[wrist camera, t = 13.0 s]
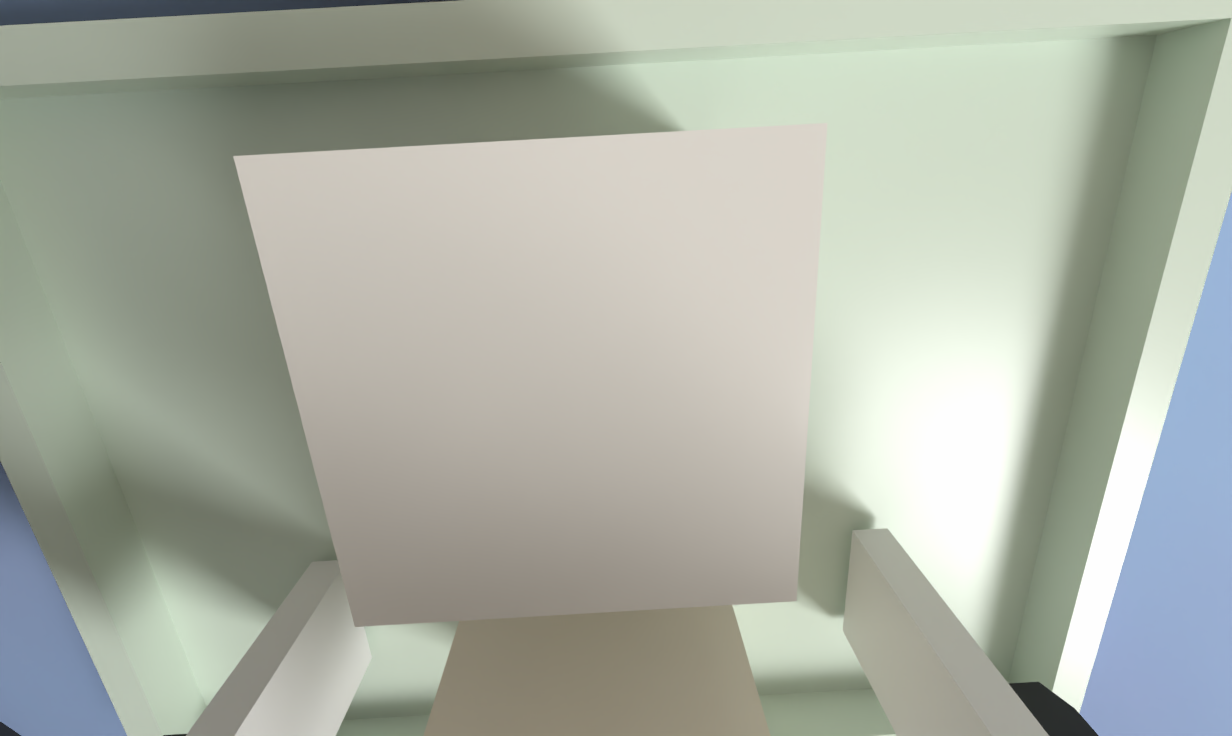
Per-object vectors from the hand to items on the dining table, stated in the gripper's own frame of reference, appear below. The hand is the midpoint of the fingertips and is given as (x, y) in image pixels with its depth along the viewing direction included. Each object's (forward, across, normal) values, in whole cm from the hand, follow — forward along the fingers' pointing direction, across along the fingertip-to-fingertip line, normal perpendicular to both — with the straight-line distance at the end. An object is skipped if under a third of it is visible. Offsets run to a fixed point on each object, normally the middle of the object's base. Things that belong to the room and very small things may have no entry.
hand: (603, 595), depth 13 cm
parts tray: (+1, 0, +4) cm, 4 cm away
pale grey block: (0, 0, +7) cm, 7 cm away
